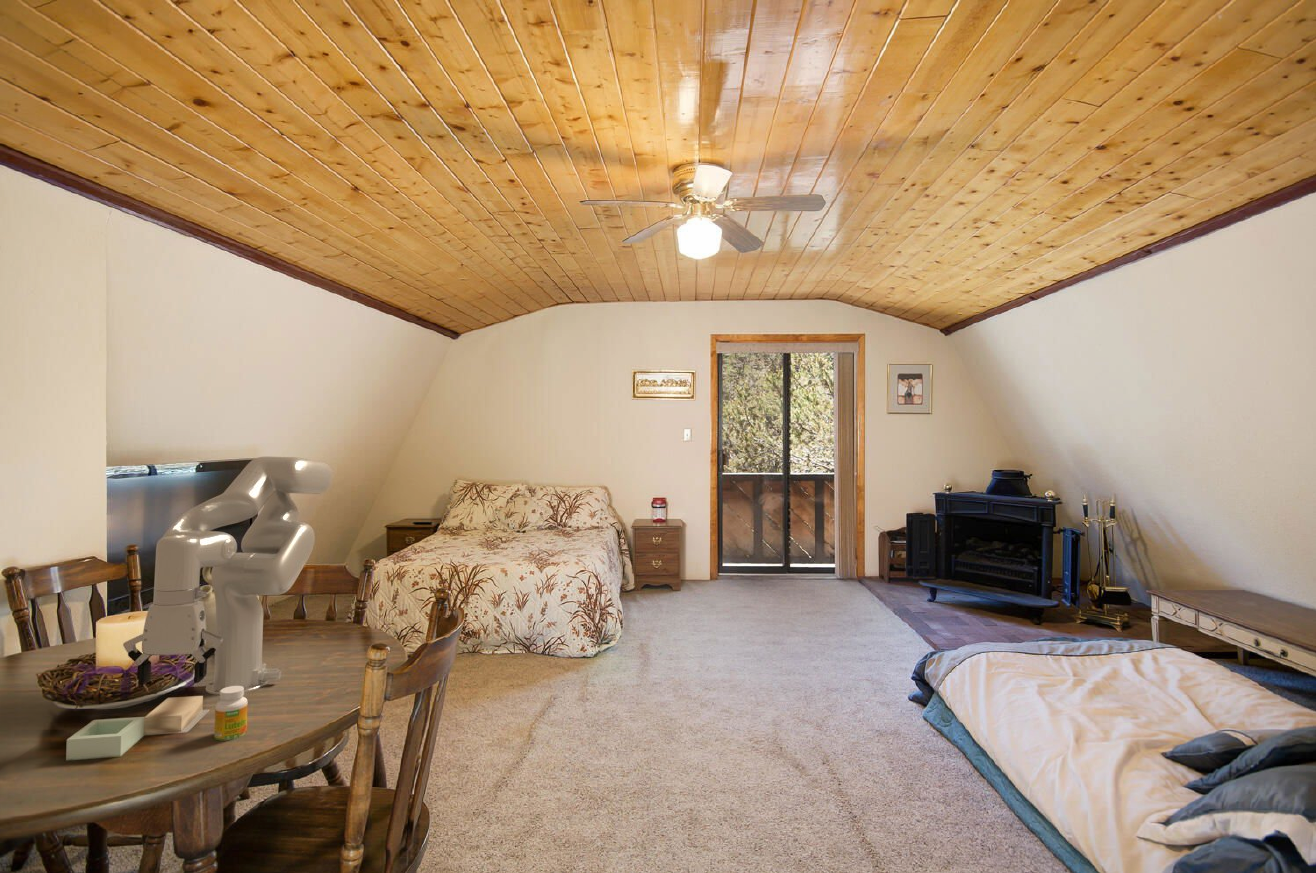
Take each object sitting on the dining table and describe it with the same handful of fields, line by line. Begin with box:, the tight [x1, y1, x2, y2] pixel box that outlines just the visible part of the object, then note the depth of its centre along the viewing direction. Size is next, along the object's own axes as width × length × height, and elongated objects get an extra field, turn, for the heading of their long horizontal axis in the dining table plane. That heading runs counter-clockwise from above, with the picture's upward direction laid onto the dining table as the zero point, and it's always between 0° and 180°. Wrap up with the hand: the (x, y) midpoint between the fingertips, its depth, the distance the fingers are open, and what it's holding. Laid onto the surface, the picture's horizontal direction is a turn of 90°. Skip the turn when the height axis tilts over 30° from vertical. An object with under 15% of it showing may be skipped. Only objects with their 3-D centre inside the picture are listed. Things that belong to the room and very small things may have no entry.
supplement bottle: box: [213, 686, 249, 742], centre depth 132 cm, size 5×5×10 cm
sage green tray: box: [65, 716, 145, 761], centre depth 125 cm, size 8×8×4 cm
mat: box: [144, 709, 210, 736], centre depth 136 cm, size 9×11×1 cm
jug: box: [199, 567, 216, 655], centre depth 184 cm, size 15×16×25 cm
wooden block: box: [143, 695, 204, 734], centre depth 136 cm, size 6×10×3 cm, turn 14°
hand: (172, 681), depth 135 cm, fingers open, 9 cm apart
